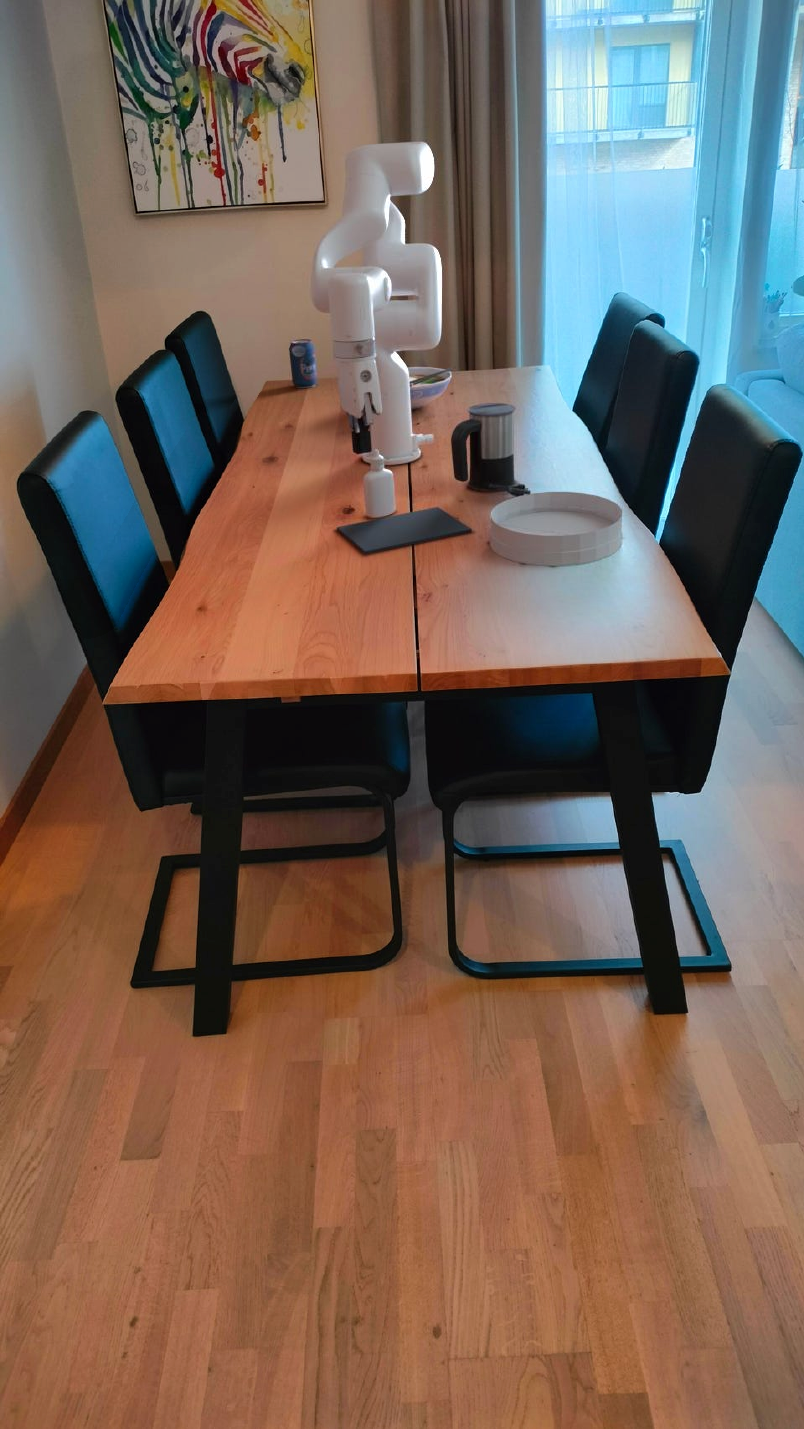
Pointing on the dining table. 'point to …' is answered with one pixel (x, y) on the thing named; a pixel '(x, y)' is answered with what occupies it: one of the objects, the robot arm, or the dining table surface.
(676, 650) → the dining table surface
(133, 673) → the dining table surface
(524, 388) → the dining table surface
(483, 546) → the dining table surface
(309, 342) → the soda can
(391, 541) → the mat
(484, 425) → the milk frother
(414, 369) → the ramen bowl
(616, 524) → the dish
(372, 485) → the eye dropper bottle
